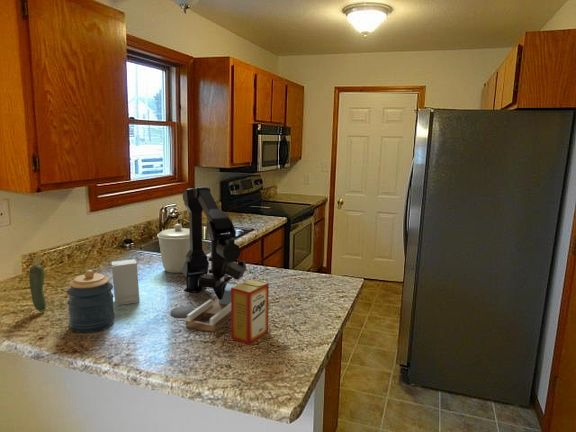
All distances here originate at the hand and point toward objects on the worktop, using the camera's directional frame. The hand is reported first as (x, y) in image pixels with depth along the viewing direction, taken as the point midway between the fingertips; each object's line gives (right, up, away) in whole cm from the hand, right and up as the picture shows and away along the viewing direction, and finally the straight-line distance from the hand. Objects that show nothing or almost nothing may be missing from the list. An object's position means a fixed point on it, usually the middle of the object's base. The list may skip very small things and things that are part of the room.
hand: (220, 299), depth 140 cm
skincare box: (-35, -3, +10) cm, 37 cm away
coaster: (-13, -5, +1) cm, 14 cm away
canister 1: (-39, -6, -9) cm, 40 cm away
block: (+2, -2, +6) cm, 7 cm away
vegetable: (-60, -4, -1) cm, 60 cm away
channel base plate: (0, -5, 0) cm, 5 cm away
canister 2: (-26, +3, +47) cm, 54 cm away
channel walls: (-2, -4, -5) cm, 7 cm away
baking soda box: (+11, -8, -15) cm, 20 cm away
